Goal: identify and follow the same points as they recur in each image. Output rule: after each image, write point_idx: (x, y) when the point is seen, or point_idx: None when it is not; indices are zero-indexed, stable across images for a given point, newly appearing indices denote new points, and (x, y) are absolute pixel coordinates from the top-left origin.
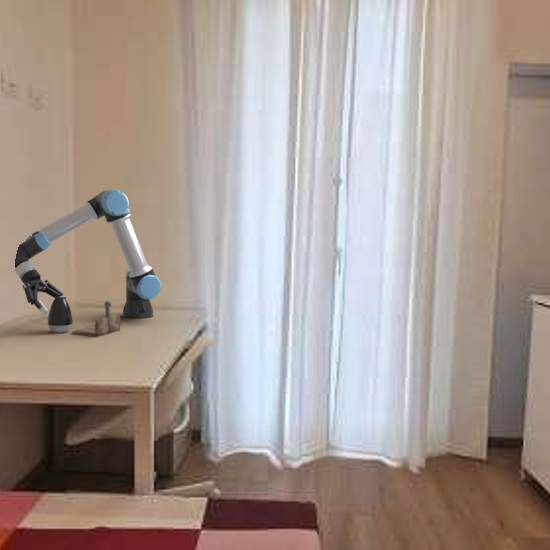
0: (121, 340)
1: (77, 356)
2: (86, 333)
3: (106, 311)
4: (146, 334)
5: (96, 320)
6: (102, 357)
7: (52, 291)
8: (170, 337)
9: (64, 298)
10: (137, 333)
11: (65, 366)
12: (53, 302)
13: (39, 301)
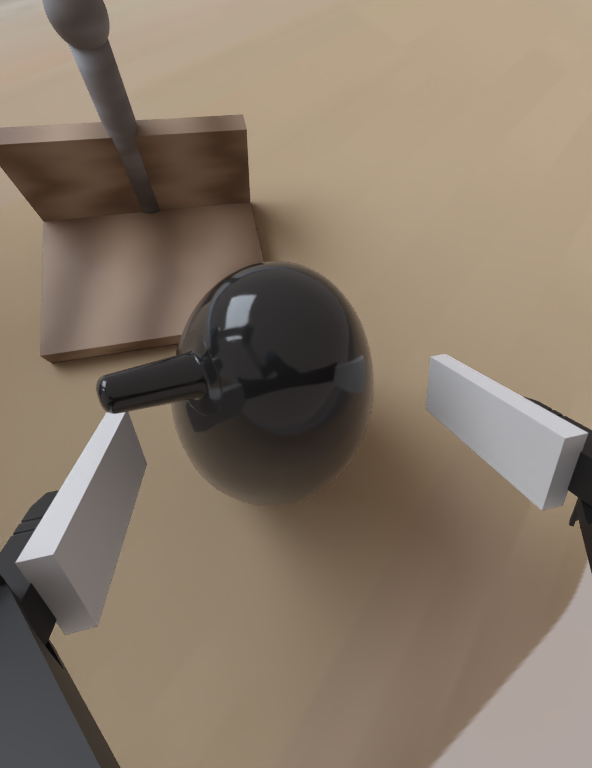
0: (250, 104)
1: (511, 77)
2: (259, 245)
3: (122, 82)
4: (84, 98)
5: (244, 127)
6: (465, 33)
7: (84, 743)
8: None
9: (247, 267)
10: None
11: (587, 45)
12: (367, 360)
13: (558, 417)
